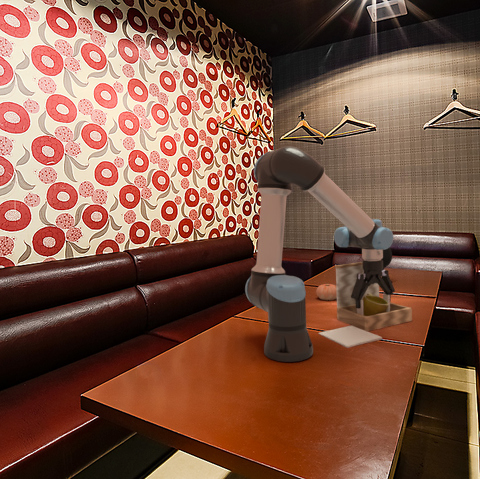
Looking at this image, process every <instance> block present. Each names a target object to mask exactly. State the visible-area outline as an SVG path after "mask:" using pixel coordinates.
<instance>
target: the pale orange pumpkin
mask: <svg viewBox="0 0 480 479" xmlns="http://www.w3.org/2000/svg"><path fill="white" fill-rule="evenodd" d="M316 296H317V297H318V298H319V299H320V300H323V301H328V300H329V301H334V300H337V291H336V284H331V283H325V284H320V285H319V286H318V287H317V288H316Z"/></svg>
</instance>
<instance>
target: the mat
mask: <svg viewBox="0 0 480 479" xmlns="http://www.w3.org/2000/svg"><path fill="white" fill-rule="evenodd" d="M317 334H318V335H320V336H322V337H324V338H326V339H327V340H330V341H331V342H335V343H337V344H339V345H341V347H345V348H347V349H348V348H352V347H355V346H356V347H357V346H361V345H363V344H368V343H372V342H376V341H379V340H383V337H382V336H379V335H378V334H374V333H372V332H370V331H365V330H362V329H359V328H357V327H354V326H352V325H348V326H343V327H339V328H338V327H337V328H335V329H330V330H325V331H321V332H318V333H317Z"/></svg>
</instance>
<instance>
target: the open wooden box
mask: <svg viewBox="0 0 480 479" xmlns="http://www.w3.org/2000/svg"><path fill="white" fill-rule="evenodd" d="M334 269H335V282H336V284H335V286H336V291H337V298H336V318H337V320H338V321H340V322H343V323H345V324H347V325H348V326H354V327H357V328H359V329H362V330H364V331H367V332H370V331H375V330H379V329H382V328H387V327H391V326H396V325H399V324H404V323H408V322H412V321H413V315H412V314H413V308H412V307H409V306H405V305H401V304H397V303H395V302H394V303H393V302H392V301H391V302H390V311H389V312H388V311H386V312H385V313H381V314H376V315H371V316H364V315H361V314H358V313H357V308H356V301H355V299H353V298H351V294H352V291H353V289H354V286H355V283H356V280H357V274H358V273H360V274H363V273H364V270H363V267H362V261H359V262H353V263H346V264H345V263H344V264H337V265H334ZM366 282H367V281H366ZM367 294H372V295H373V296H377V297H380V286H379V285H378V283H374V284H371V285H370V286H369V287H368V288H367V290H366V292H365V294H364V295H363V297H364V296H365V295H367ZM363 297H362V299H361V300H363Z"/></svg>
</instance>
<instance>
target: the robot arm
mask: <svg viewBox="0 0 480 479" xmlns="http://www.w3.org/2000/svg"><path fill="white" fill-rule="evenodd" d="M253 176H254V179H255V180H256V182H257V191H258V193H260V195H261V197H260V211H259V221H258V222H259V223H258V238H257V239H258V241H257V252H256V263H255V265H254V266H253V267H252V268H251V270H250V271H251V273H250V276H249V278H248V279H247V281H246V283H245V287H244V291H245V295H246V297H247V299H248V301H249V302H250V303H251V304H252V305H253V306H254V307H256V308H258V309H260V310H263V311H264V312H267V316H268V318H267V321H268V330H267V333H266V338H265V340H264V344H263V352H264V353H263V354H264V355H265V357H267V358H268V359H270V360H274V361H277V362H287V363H291V362H293V363H294V362H300V361H304V360H307V359H309V358H310V357H312V356H313V354H314V347H313V346H314V345H313V342H312V340H311V337H310V334H309V332H308V329H307V308H306V307H307V306H306V305H307V304H306V303H307V302H306V294H307V292H306V287H305V283H304V281H303V280H302V278H299V277H297V276H294V275H287V274H286V270H285V269H284V268H283V267H282V260H283V250H284V249H283V247H284V237H285V222H286V209H287V207H286V206H287V196H289V195H290V194H291V193H292V189H293V185H294V186H295V187H298V189H300V190H301V191H302V192H308V193H309V194H310V195H311V196H312V197H314V198H315V200H316V201H318V202H319V203H320V204H321V205H322V206H323V207H324V208H326V209H327V211H329V212H330V213H331V214H332V215H333V216H334V217H335V218H336V219H337V220H339V221H340V222H341V224H342V225H343V226H341V227H337V228H336V229H335V231H334V233H333V236H334V237H333V240H334V243H335V244H336V246H337V247H339V248H348V247H349V248H350V247H352V248H360V249H361V257H362V258H361V259H363V260H362V261H361V262H362V267H363V270H364V273H363V274H360V273H358V274H357V280H356V283H355V286H354V289H353V291H352V294H351V298H353V299H355V301H356V308H357V313H358V314H361V315H363V300H361V299H362V297H363V295H364V294H365V292H366V290H367V288H368V287H369V286H370V285H371V284H374V283H378V285H379V288H380V289H381V290H382V291H383V292H384V293H382V298H383V299H384V300H386V301H387V302H388V308H387V310H386V311H388V312H389V311H390V302H391V303H392V300H391V299H392V298H391V296H393V295H394V293H395V291H396V290H395V288H394V285H393V281H392V280H391V278H390V275H389V270H387V269H384V270H382V269H383V261H382V260H381V259H382V258H383V250H385V249H388V248H389V247H390V248H391V246H392V244H394V234H393V231H392V230H391V229H390V228H389V227H385V226H383V221H382V220H381V219H378V218H377V219H372V218H371V217H370V216H369V215H368V214H367V213H366V212H365V211H364V210H363V209H362V208H361V207H360V206H359V205H357V204H356V202H354V201H353V199H352V198H351V197H350V196H349V195H347V194H346V193H345V191H344V190H342V189H341V188H340V187H339V185H337V184H336V183H335V182H334V181H333V180H332V179H331V178H330V177H329V176H328V175H327V174H326V168H325V167H323V166H322V164H321V163H320V162H319V161H318V160H316V159H315V158H314V157H313V156H312V155H311V154H309V153H307V152H306V151H304V150H302V149H301V148H298V147H296V146H292V145H284V146H282V147H279V148H278V149H275V150H271V151H267V152H265V153H263V154H262V155H261V156H260V157H258V159H257V160H256V162H255V163H254V167H253ZM382 278H383V279H382ZM366 281H367V282H366ZM391 281H392V282H391ZM384 282H385V283H384Z"/></svg>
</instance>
